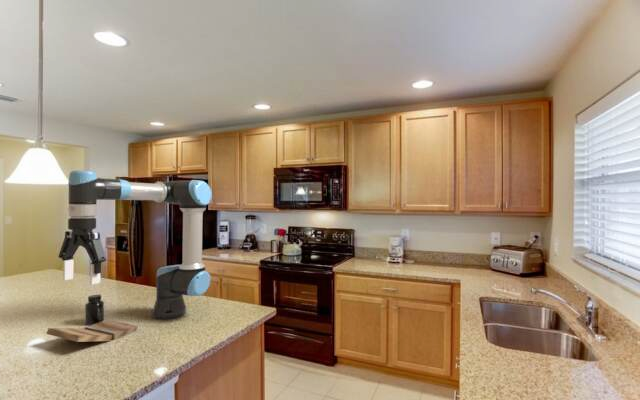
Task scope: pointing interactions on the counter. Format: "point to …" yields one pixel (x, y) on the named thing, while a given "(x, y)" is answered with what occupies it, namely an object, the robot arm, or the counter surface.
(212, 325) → the counter surface
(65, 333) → the oak plank
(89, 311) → the supplement bottle
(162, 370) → the counter surface
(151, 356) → the counter surface
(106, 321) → the walnut board
